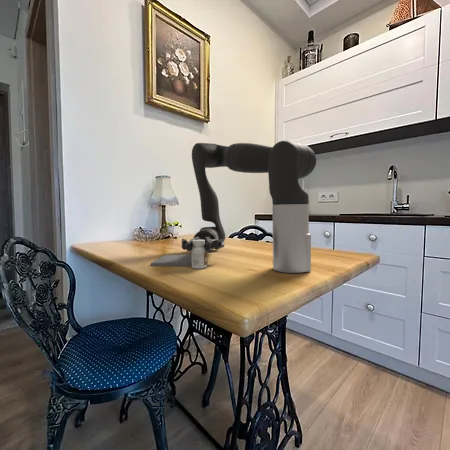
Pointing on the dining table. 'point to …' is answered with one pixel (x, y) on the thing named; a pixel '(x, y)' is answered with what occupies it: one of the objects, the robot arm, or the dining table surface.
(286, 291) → the dining table surface
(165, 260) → the mat
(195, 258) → the pill bottle
